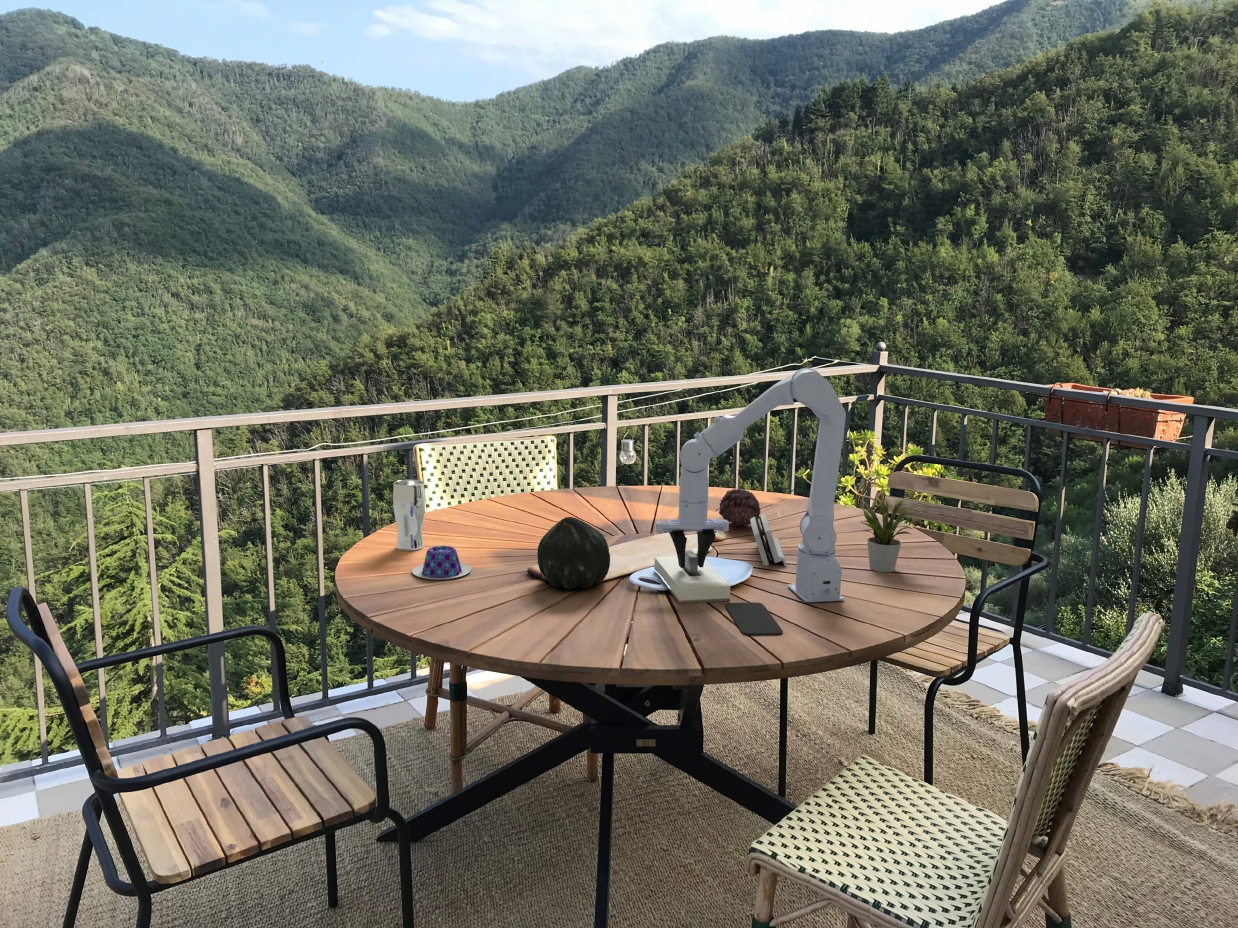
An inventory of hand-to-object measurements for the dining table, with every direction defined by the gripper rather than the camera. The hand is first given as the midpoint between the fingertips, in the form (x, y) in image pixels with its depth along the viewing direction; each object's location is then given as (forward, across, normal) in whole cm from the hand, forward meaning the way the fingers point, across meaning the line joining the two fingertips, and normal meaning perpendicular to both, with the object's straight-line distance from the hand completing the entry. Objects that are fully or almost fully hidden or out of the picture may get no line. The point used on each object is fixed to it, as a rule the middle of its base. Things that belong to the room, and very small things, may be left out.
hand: (690, 566), depth 173 cm
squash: (+4, +23, -4) cm, 24 cm away
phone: (+4, -6, +20) cm, 21 cm away
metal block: (+3, 0, 0) cm, 3 cm away
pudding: (+4, +49, -15) cm, 51 cm away
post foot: (+4, 0, 0) cm, 4 cm away
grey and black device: (+4, -23, -18) cm, 30 cm away
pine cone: (+4, -25, -42) cm, 49 cm away
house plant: (+4, -46, -5) cm, 46 cm away
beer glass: (+4, +56, -34) cm, 66 cm away
